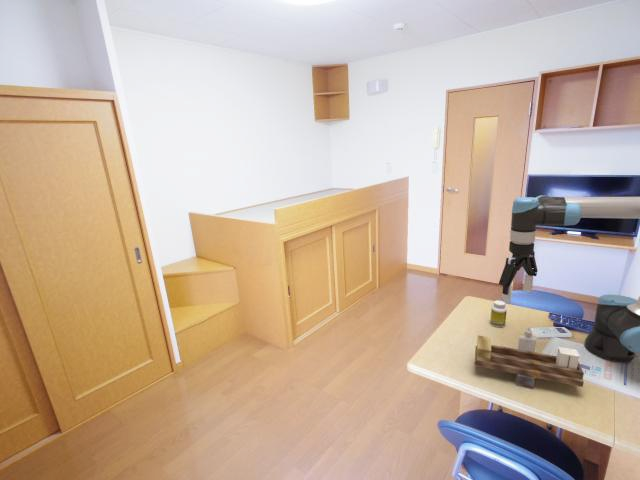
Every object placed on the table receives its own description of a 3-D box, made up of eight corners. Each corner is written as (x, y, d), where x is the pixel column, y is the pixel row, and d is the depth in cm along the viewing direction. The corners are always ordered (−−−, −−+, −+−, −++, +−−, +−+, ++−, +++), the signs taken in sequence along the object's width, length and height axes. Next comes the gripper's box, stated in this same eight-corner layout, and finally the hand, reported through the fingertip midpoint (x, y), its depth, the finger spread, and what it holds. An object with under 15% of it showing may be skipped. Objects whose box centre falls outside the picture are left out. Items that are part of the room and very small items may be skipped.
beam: (572, 376, 120) (577, 349, 117) (581, 399, 109) (587, 370, 106) (474, 357, 133) (476, 333, 130) (474, 376, 122) (476, 350, 119)
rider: (572, 367, 115) (576, 349, 113) (575, 374, 111) (579, 356, 110) (555, 364, 117) (558, 346, 115) (557, 371, 113) (560, 353, 112)
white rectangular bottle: (531, 360, 129) (534, 332, 126) (515, 353, 134) (518, 327, 130) (535, 355, 132) (539, 328, 129) (520, 349, 136) (523, 323, 133)
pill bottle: (506, 328, 151) (508, 306, 148) (491, 326, 153) (493, 305, 150) (503, 321, 157) (505, 300, 154) (488, 320, 159) (490, 299, 156)
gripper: (530, 232, 127) (525, 284, 132) (490, 246, 115) (486, 302, 121) (552, 236, 120) (546, 290, 126) (511, 251, 109) (506, 310, 114)
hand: (517, 296), depth 123 cm, fingers open, 13 cm apart
